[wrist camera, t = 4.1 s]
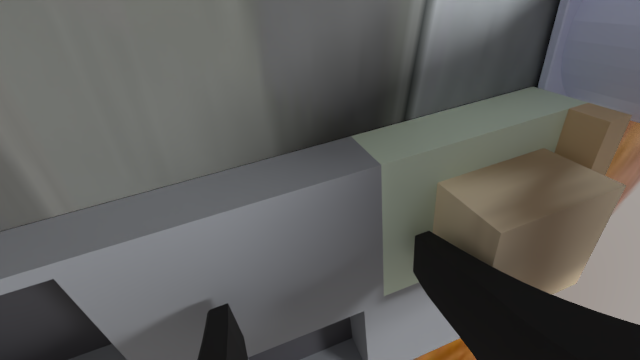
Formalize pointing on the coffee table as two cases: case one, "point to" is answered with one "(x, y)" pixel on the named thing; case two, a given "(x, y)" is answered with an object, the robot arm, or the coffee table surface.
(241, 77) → the coffee table surface
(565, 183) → the maple block
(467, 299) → the robot arm
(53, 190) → the coffee table surface
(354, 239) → the board
